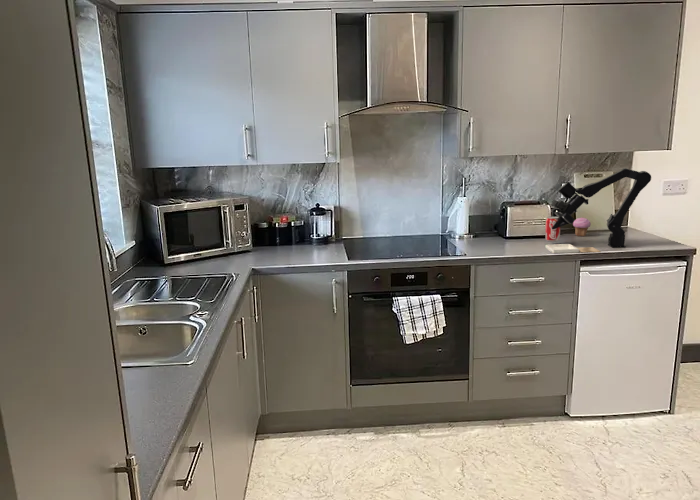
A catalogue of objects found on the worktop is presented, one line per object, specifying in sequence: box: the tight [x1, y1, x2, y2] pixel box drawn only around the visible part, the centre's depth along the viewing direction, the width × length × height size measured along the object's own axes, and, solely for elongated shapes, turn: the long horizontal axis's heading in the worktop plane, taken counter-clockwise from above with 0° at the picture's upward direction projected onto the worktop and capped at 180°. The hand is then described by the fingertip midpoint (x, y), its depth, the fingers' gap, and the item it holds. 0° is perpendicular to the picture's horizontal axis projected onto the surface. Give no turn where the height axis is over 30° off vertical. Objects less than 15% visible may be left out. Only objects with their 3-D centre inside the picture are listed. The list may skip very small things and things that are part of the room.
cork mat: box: [577, 246, 602, 254], centre depth 275 cm, size 9×9×1 cm
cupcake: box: [572, 217, 592, 237], centre depth 308 cm, size 9×9×10 cm
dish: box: [545, 243, 580, 254], centre depth 276 cm, size 12×12×2 cm
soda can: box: [544, 216, 561, 242], centre depth 286 cm, size 7×7×12 cm
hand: (550, 227), depth 286 cm, fingers closed on soda can, 7 cm apart
